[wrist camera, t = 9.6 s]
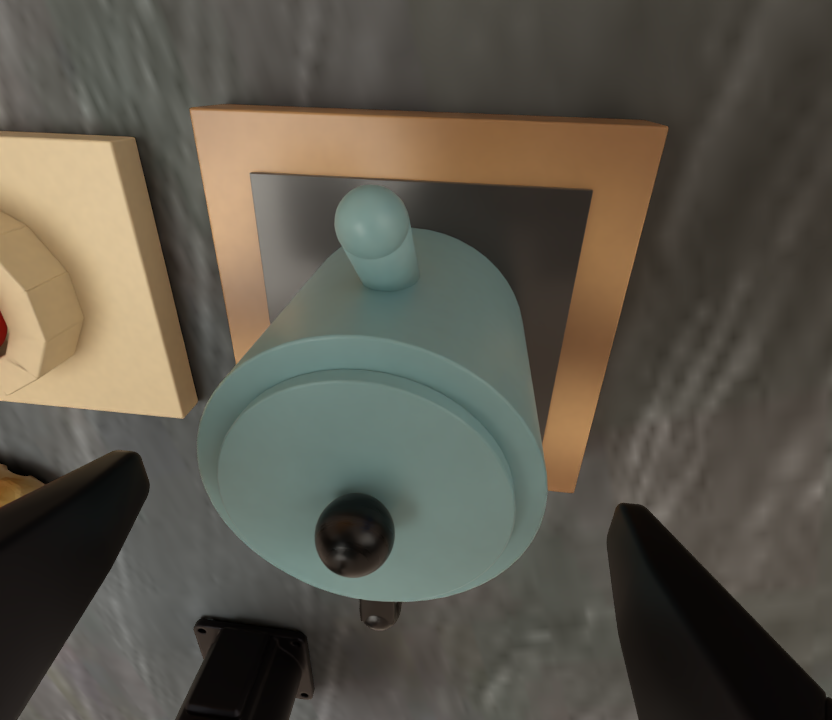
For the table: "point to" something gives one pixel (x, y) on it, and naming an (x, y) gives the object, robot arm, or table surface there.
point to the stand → (445, 222)
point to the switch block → (85, 280)
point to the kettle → (383, 421)
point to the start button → (2, 329)
